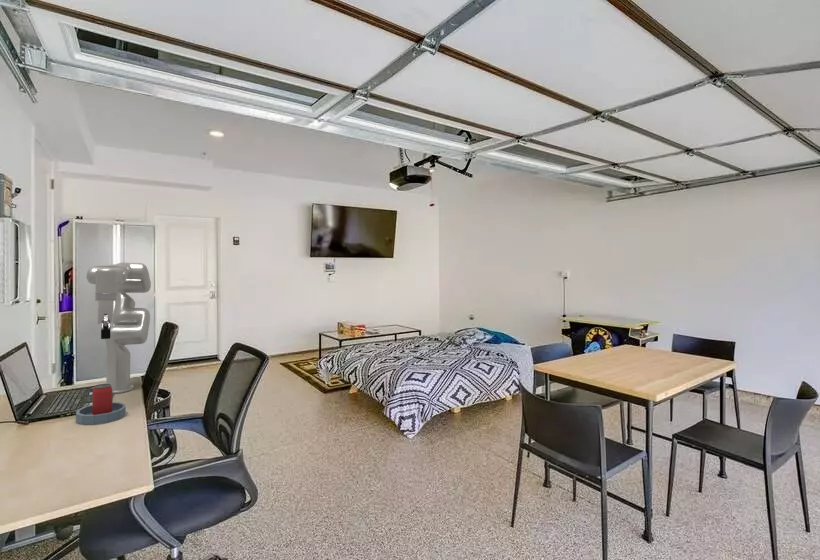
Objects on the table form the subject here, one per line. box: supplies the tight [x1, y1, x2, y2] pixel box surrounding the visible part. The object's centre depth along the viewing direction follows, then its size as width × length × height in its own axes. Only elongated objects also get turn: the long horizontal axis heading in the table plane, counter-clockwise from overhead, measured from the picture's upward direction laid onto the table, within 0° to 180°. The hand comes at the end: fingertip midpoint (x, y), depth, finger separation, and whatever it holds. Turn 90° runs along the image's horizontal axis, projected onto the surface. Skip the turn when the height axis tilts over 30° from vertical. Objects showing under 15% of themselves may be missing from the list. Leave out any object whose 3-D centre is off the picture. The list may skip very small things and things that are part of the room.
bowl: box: [75, 401, 127, 426], centre depth 170 cm, size 16×16×4 cm
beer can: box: [91, 383, 113, 415], centre depth 170 cm, size 7×7×12 cm
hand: (105, 336), depth 181 cm, fingers open, 9 cm apart
